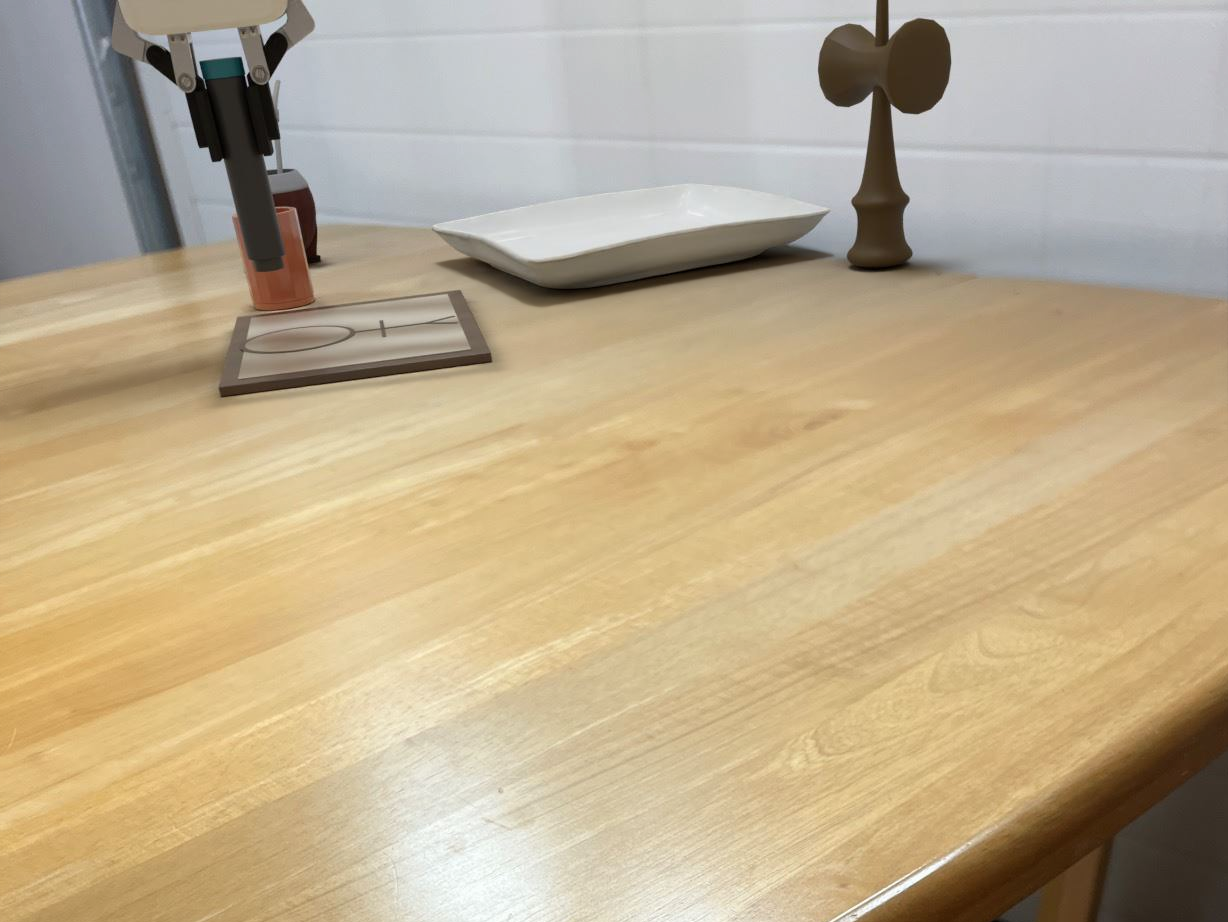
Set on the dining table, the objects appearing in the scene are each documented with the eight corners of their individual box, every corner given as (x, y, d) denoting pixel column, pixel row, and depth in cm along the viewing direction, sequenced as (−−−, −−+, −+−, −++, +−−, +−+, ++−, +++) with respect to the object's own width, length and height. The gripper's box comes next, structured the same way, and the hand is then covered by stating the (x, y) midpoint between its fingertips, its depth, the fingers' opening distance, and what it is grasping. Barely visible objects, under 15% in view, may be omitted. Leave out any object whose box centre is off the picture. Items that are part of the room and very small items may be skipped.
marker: (264, 274, 92) (214, 60, 85) (242, 272, 94) (190, 62, 87) (297, 266, 94) (249, 55, 87) (274, 264, 95) (226, 57, 88)
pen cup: (277, 312, 111) (256, 218, 107) (241, 307, 114) (219, 216, 110) (327, 299, 114) (308, 207, 110) (290, 295, 117) (270, 205, 113)
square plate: (694, 220, 134) (691, 176, 131) (836, 255, 113) (836, 203, 111) (433, 262, 125) (426, 216, 123) (536, 307, 104) (529, 253, 102)
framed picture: (492, 361, 91) (490, 350, 90) (220, 396, 88) (217, 385, 88) (461, 297, 110) (460, 288, 110) (238, 324, 108) (236, 315, 107)
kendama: (887, 278, 103) (891, -37, 92) (813, 264, 110) (809, -31, 99) (947, 266, 106) (959, -44, 94) (872, 252, 113) (874, -38, 101)
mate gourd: (263, 276, 126) (220, 90, 118) (242, 266, 132) (200, 88, 123) (339, 263, 129) (303, 81, 120) (315, 254, 135) (279, 79, 126)
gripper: (5, -192, 75) (111, 177, 86) (296, -216, 77) (365, 148, 88) (32, -178, 81) (127, 165, 92) (300, -201, 83) (364, 138, 94)
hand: (242, 154), depth 90 cm, fingers closed on marker, 2 cm apart
